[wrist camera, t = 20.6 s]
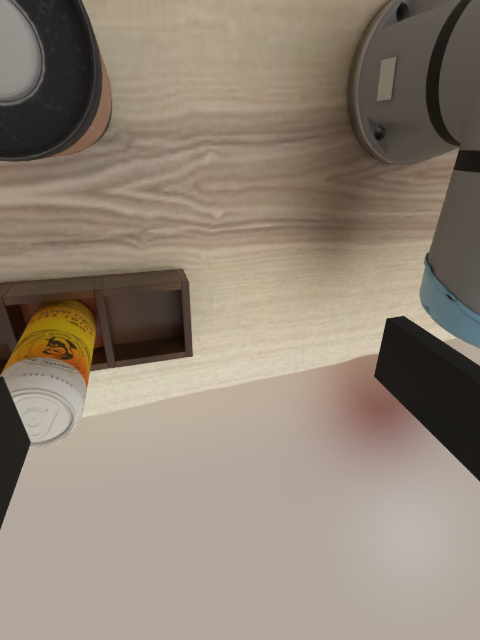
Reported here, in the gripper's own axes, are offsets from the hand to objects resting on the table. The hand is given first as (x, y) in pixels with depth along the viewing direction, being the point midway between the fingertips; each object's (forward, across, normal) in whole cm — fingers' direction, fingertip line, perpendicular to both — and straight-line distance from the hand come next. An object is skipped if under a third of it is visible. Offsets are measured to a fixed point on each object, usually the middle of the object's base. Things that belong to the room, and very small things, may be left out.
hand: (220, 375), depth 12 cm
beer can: (+26, -12, -10) cm, 30 cm away
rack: (+26, -12, -10) cm, 30 cm away
